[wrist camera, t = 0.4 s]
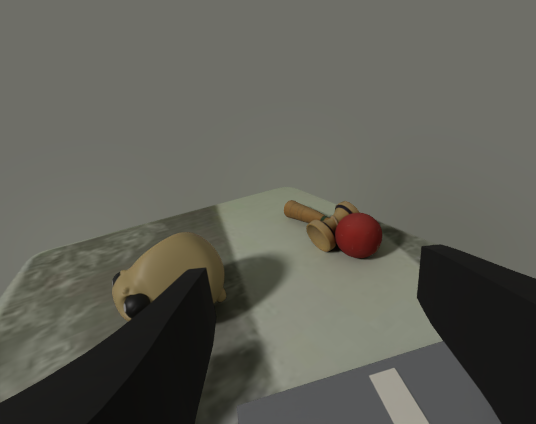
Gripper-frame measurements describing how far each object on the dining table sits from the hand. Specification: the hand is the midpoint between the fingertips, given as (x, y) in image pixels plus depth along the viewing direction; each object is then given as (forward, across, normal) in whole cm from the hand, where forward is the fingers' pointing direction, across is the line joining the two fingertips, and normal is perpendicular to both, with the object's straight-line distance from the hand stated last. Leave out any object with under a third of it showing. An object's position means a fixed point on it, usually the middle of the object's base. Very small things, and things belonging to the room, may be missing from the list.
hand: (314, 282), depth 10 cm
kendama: (+33, -7, +15) cm, 37 cm away
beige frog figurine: (+22, +13, +18) cm, 31 cm away
